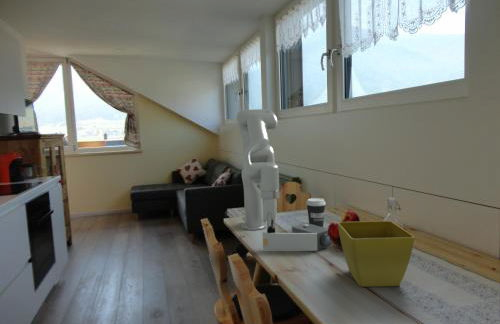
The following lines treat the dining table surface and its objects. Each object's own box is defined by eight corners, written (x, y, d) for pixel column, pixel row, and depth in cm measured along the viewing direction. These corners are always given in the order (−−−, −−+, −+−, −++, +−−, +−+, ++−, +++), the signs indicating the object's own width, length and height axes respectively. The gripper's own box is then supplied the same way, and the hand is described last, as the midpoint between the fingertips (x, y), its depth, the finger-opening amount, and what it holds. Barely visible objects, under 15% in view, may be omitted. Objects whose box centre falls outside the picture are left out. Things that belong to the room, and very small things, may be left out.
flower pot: (337, 266, 121) (336, 221, 119) (390, 265, 120) (391, 220, 119) (351, 292, 102) (351, 238, 100) (415, 291, 101) (416, 237, 100)
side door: (317, 249, 137) (316, 233, 136) (317, 251, 135) (317, 234, 135) (263, 249, 140) (262, 232, 139) (262, 250, 138) (262, 234, 137)
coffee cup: (304, 231, 163) (303, 201, 161) (308, 226, 172) (308, 197, 170) (324, 233, 159) (324, 202, 158) (327, 227, 168) (327, 198, 167)
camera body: (292, 242, 148) (291, 225, 148) (306, 237, 154) (306, 221, 153) (320, 251, 136) (319, 233, 135) (334, 246, 141) (334, 228, 141)
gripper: (263, 190, 147) (264, 231, 149) (258, 197, 132) (260, 243, 134) (280, 190, 146) (281, 231, 148) (278, 197, 131) (279, 243, 133)
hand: (271, 237), depth 141 cm, fingers closed
